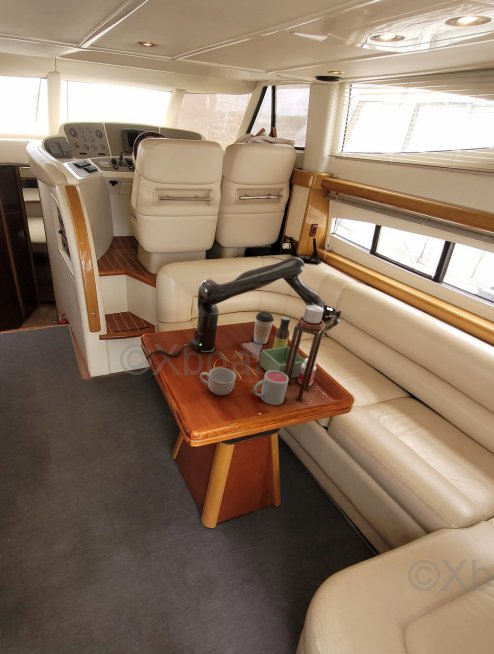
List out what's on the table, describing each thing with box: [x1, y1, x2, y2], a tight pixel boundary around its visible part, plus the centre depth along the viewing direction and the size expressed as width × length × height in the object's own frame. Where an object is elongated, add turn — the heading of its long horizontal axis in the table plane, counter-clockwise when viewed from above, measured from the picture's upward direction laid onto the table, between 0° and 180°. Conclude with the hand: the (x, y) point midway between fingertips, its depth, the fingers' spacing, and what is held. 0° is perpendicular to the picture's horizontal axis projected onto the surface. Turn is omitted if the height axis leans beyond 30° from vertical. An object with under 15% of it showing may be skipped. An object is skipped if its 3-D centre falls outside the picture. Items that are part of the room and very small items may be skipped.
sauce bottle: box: [272, 316, 291, 349], centre depth 180 cm, size 6×6×20 cm
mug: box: [253, 371, 289, 406], centre depth 151 cm, size 14×9×10 cm
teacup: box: [199, 366, 237, 396], centre depth 153 cm, size 14×11×8 cm
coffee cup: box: [253, 311, 275, 345], centre depth 195 cm, size 9×9×15 cm
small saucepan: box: [303, 300, 326, 325], centre depth 147 cm, size 17×6×6 cm, turn 150°
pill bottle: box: [297, 357, 317, 387], centre depth 163 cm, size 6×6×11 cm
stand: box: [284, 315, 326, 401], centre depth 152 cm, size 10×9×32 cm
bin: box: [258, 345, 306, 379], centre depth 172 cm, size 14×14×8 cm
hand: (322, 307), depth 156 cm, fingers open, 8 cm apart
